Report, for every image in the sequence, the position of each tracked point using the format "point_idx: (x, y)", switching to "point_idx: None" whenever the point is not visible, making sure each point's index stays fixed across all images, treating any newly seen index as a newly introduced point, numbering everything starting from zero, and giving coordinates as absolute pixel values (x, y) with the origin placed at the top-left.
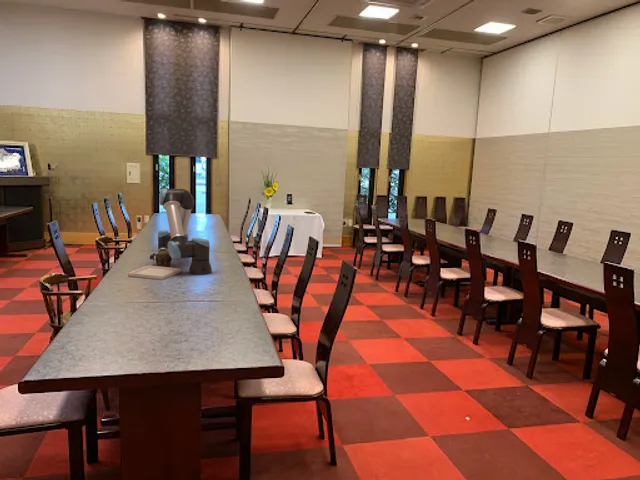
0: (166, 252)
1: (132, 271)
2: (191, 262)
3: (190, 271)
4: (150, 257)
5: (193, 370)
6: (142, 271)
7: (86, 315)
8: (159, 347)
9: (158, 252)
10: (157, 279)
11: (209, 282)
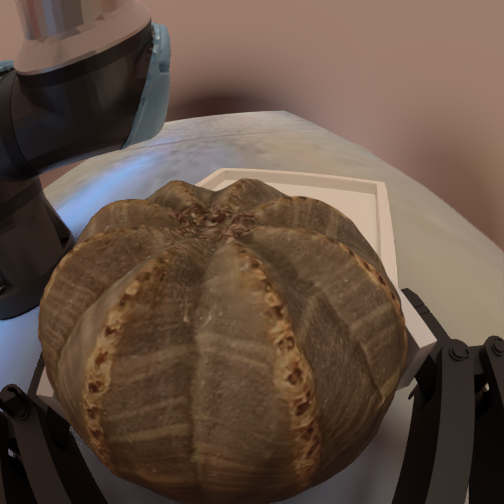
0: (152, 195)
1: (382, 193)
2: (42, 211)
3: (75, 243)
4: (478, 354)
5: (196, 117)
6: (362, 232)
7: (304, 123)
8: (216, 118)
9: (331, 207)
10: None
11: (85, 192)
